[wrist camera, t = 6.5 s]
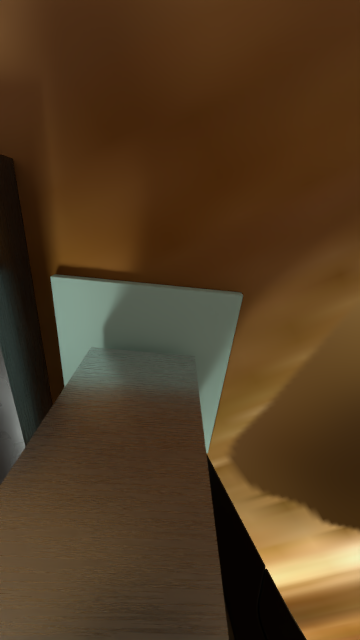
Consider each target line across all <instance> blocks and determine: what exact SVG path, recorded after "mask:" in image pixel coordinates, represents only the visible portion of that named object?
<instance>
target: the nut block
mask: <svg viewBox="0 0 360 640" xmlns="http://www.w3.org/2000/svg"><path fill="white" fill-rule="evenodd" d="M0 640H229V637H228V628H227V620H226V612H225V604H224V595H223V587H222V579H221V571H220V562H219V554H218V546H217V537H216V529H215V521H214V513H213V504H212V496H211V488H210V479H209V471H208V463H207V455H206V446H205V438H204V430H203V422H202V413H201V405H200V397H199V388H198V380H197V372H196V364H195V356H190V355H178V354H166V353H154V352H142V351H130V350H118V349H106V348H94V347H91V348H90V349H89V351H88V352H87V354H86V355H85V357H84V358H83V360H82V362H81V363H80V365H79V366H78V368H77V369H76V371H75V372H74V374H73V375H72V377H71V378H70V380H69V381H68V383H67V384H66V386H65V387H64V389H63V391H62V392H61V394H60V395H59V397H58V398H57V400H56V401H55V403H54V404H53V406H52V407H51V409H50V410H49V412H48V413H47V415H46V416H45V418H44V420H43V421H42V423H41V424H40V426H39V427H38V429H37V430H36V432H35V433H34V435H33V436H32V438H31V439H30V441H29V442H28V444H27V445H26V447H25V448H24V450H23V452H22V453H21V455H20V456H19V458H18V459H17V461H16V462H15V464H14V465H13V467H12V468H11V470H10V471H9V473H8V474H7V476H6V477H5V479H4V481H3V482H2V484H1V485H0Z"/></svg>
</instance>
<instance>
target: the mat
mask: <svg viewBox="0 0 360 640" xmlns="http://www.w3.org/2000/svg"><path fill="white" fill-rule="evenodd" d="M50 278H51V286H52V293H53V301H54V309H55V317H56V325H57V332H58V340H59V348H60V356H61V364H62V371H63V379H64V387H65V386H66V384H67V383H68V381H69V380H70V378H71V377H72V375H73V374H74V372H75V371H76V369H77V368H78V366H79V365H80V363H81V362H82V360H83V358H84V357H85V355H86V354H87V352H88V351H89V349H90V348H91V347H94V348H106V349H118V350H130V351H142V352H154V353H166V354H178V355H190V356H195V364H196V372H197V380H198V388H199V397H200V405H201V413H202V422H203V430H204V438H205V446H206V453H208V449H209V444H210V440H211V436H212V431H213V427H214V422H215V418H216V413H217V409H218V405H219V400H220V396H221V391H222V387H223V382H224V378H225V374H226V369H227V365H228V360H229V356H230V351H231V347H232V343H233V338H234V334H235V329H236V325H237V320H238V316H239V312H240V307H241V303H242V298H243V294H242V293H241V292H231V291H221V290H211V289H201V288H190V287H180V286H170V285H160V284H150V283H139V282H129V281H119V280H109V279H98V278H88V277H78V276H68V275H58V274H55V275H53V276H50Z"/></svg>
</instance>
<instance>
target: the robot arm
mask: <svg viewBox="0 0 360 640" xmlns="http://www.w3.org/2000/svg"><path fill="white" fill-rule="evenodd" d="M206 455H207V454H206ZM207 463H208V471H209V479H210V488H211V496H212V504H213V513H214V521H215V529H216V537H217V546H218V554H219V562H220V571H221V579H222V587H223V595H224V604H225V612H226V620H227V628H228V637H229V640H307V639H306V638H305V636H304V634H303V633H302V631H301V629H300V628H299V626H298V624H297V623H296V621H295V619H294V618H293V616H292V614H291V612H290V611H289V609H288V607H287V605H286V603H285V602H284V600H283V598H282V596H281V594H280V592H279V591H278V589H277V587H276V585H275V583H274V581H273V579H272V577H271V575H270V574H269V572H268V570H267V569H265V564H264V562H263V560H262V559H261V557H260V555H259V553H258V551H257V549H256V547H255V545H254V543H253V541H252V539H251V538H250V536H249V534H248V532H247V530H246V528H245V526H244V524H243V522H242V520H241V518H240V517H239V515H238V513H237V511H236V509H235V507H234V505H233V503H232V501H231V499H230V497H229V496H228V494H227V492H226V490H225V488H224V486H223V484H222V482H221V480H220V478H219V477H218V475H217V473H216V471H215V469H214V467H213V465H212V463H211V461H210V459H209V457H208V456H207Z"/></svg>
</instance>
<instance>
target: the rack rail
mask: <svg viewBox="0 0 360 640" xmlns="http://www.w3.org/2000/svg"><path fill="white" fill-rule="evenodd" d="M51 407H52V400H51V394H50V388H49V381H48V375H47V369H46V363H45V357H44V350H43V344H42V338H41V332H40V326H39V320H38V313H37V307H36V301H35V295H34V289H33V283H32V276H31V270H30V264H29V258H28V252H27V246H26V239H25V233H24V227H23V221H22V215H21V209H20V202H19V196H18V190H17V184H16V178H15V172H14V165H13V159H12V158H9V157H6V156H3V155H0V485H1V484H2V482H3V481H4V479H5V477H6V476H7V474H8V473H9V471H10V470H11V468H12V467H13V465H14V464H15V462H16V461H17V459H18V458H19V456H20V455H21V453H22V452H23V450H24V448H25V447H26V445H27V444H28V442H29V441H30V439H31V438H32V436H33V435H34V433H35V432H36V430H37V429H38V427H39V426H40V424H41V423H42V421H43V420H44V418H45V416H46V415H47V413H48V412H49V410H50V409H51Z"/></svg>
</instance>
